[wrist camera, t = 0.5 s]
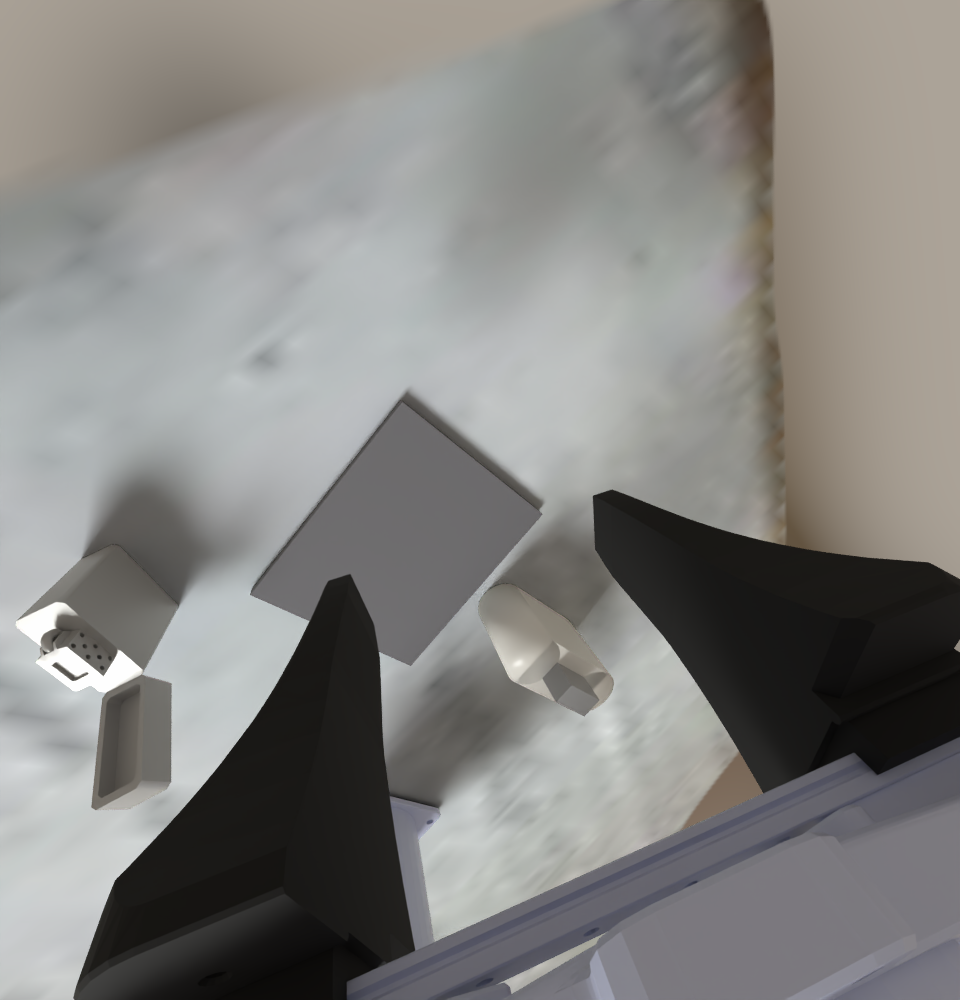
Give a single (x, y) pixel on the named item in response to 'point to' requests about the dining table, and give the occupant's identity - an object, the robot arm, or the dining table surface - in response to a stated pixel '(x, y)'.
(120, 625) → the lighter
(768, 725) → the robot arm
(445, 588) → the mat
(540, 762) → the dining table surface
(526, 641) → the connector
